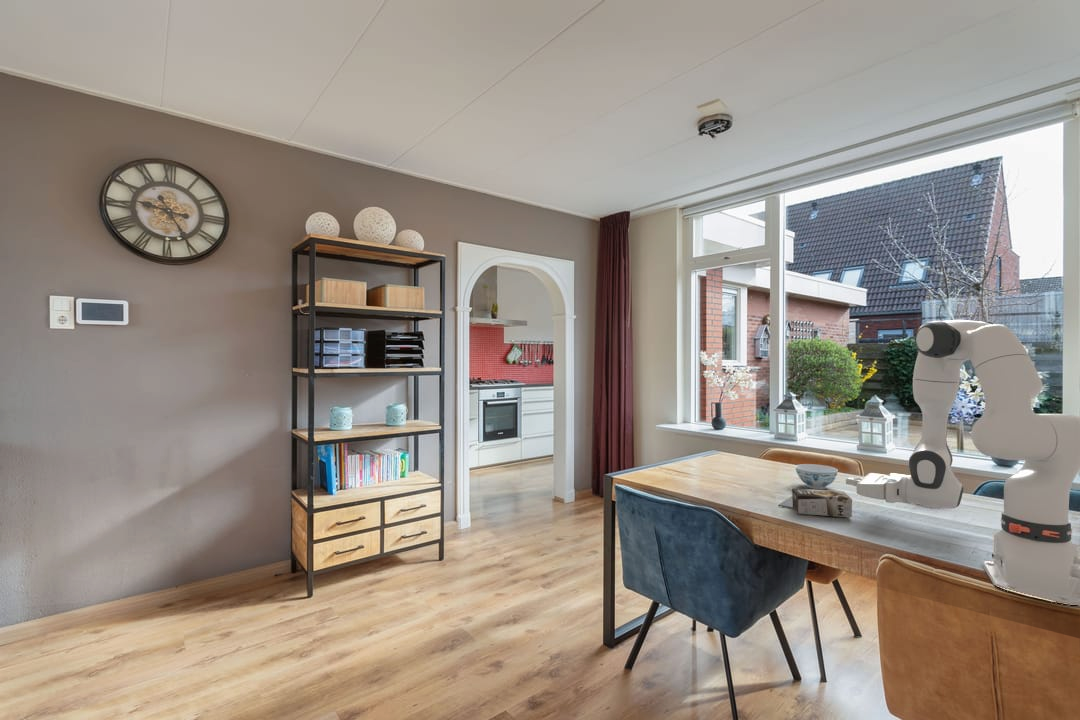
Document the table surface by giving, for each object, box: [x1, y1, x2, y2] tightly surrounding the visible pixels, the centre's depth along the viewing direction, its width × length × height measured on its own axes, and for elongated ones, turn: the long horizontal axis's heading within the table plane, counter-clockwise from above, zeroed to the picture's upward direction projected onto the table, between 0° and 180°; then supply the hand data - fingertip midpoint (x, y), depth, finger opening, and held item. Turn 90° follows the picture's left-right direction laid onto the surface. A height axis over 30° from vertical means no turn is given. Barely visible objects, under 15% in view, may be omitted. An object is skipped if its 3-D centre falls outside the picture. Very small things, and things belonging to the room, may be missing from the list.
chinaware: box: [795, 463, 839, 490], centre depth 204 cm, size 15×15×8 cm
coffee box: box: [791, 488, 853, 518], centre depth 171 cm, size 9×6×16 cm
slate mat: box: [777, 495, 795, 510], centre depth 178 cm, size 14×17×1 cm
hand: (846, 480), depth 171 cm, fingers closed
